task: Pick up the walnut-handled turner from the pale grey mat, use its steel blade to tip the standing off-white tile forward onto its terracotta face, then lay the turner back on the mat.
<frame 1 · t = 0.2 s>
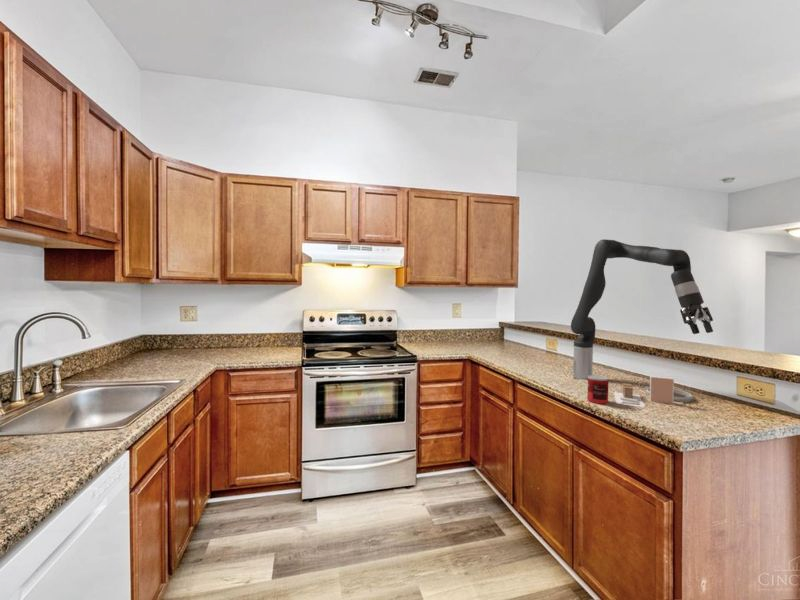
hand: (703, 333, 144), 31 cm above the countertop, tool tilted 20°, fingers open, 8 cm apart
tile: (661, 403, 154), on the countertop
turner: (627, 396, 161), resting on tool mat
frying pan: (659, 394, 168), on the countertop
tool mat: (628, 400, 158), on the countertop
canned food: (597, 403, 155), on the countertop
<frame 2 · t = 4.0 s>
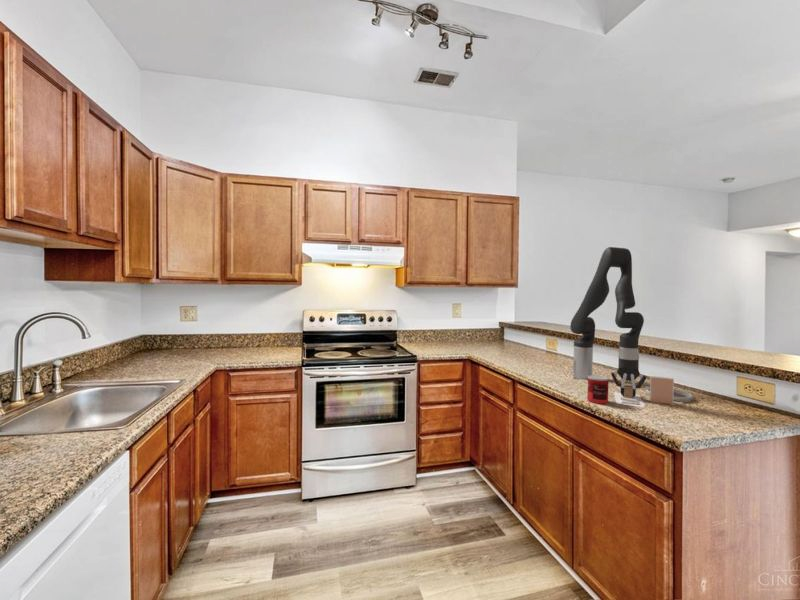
hand: (627, 396, 160), 1 cm above the countertop, tool pointing down, fingers closed on turner, 3 cm apart
turner: (627, 396, 161), point 1 cm above the countertop, touching gripper
everything else where it was.
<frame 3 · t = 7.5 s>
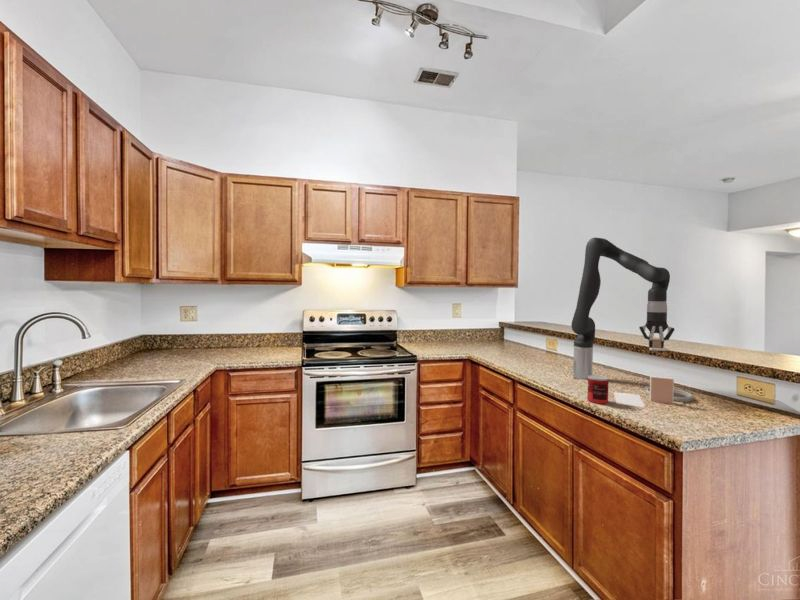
hand: (656, 348, 167), 21 cm above the countertop, tool pointing down, fingers closed on turner, 2 cm apart
turner: (655, 350, 167), point 20 cm above the countertop, tilted 12°, touching gripper
everything else where it was.
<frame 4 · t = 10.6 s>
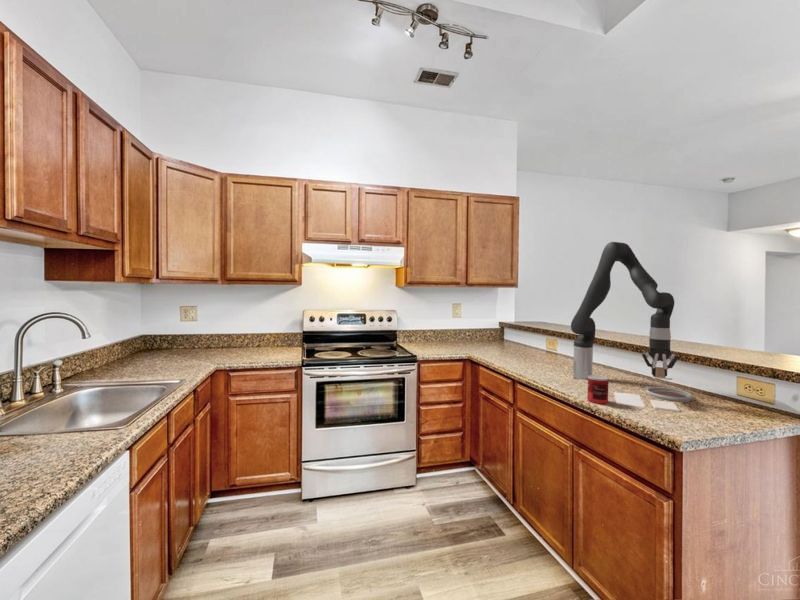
hand: (659, 376, 160), 10 cm above the countertop, tool pointing down, fingers closed on turner, 2 cm apart
tile: (661, 402, 153), on the countertop, tilted 90°
turner: (658, 378, 161), point 9 cm above the countertop, tilted 12°, touching gripper
everything else where it was.
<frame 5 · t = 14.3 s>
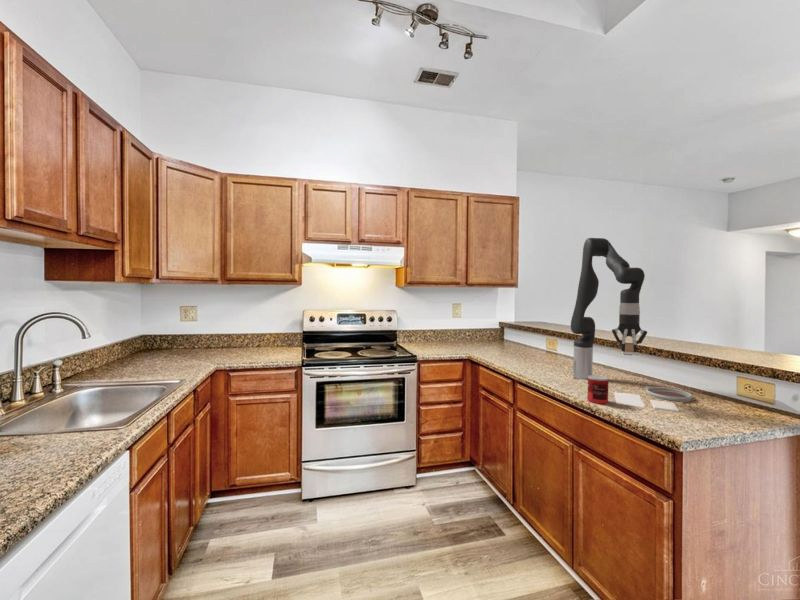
hand: (628, 352, 160), 21 cm above the countertop, tool pointing down, fingers closed on turner, 2 cm apart
turner: (628, 354, 160), point 19 cm above the countertop, tilted 12°, touching gripper
everything else where it was.
when the fingers open (2 cm above the countertop, at t = 17.9 s): turner drops 1 cm, resting on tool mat.
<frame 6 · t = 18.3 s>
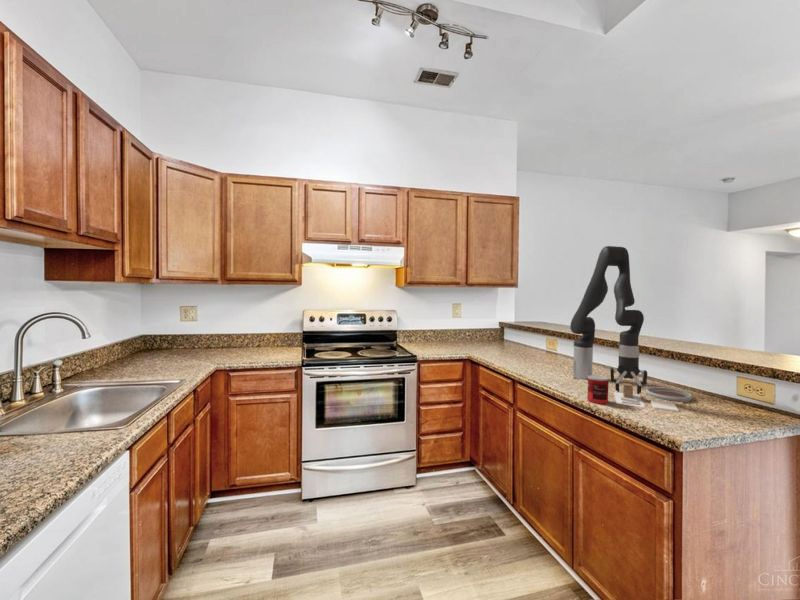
hand: (627, 392, 160), 3 cm above the countertop, tool pointing down, fingers open, 7 cm apart
turner: (627, 396, 161), resting on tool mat
everything else where it was.
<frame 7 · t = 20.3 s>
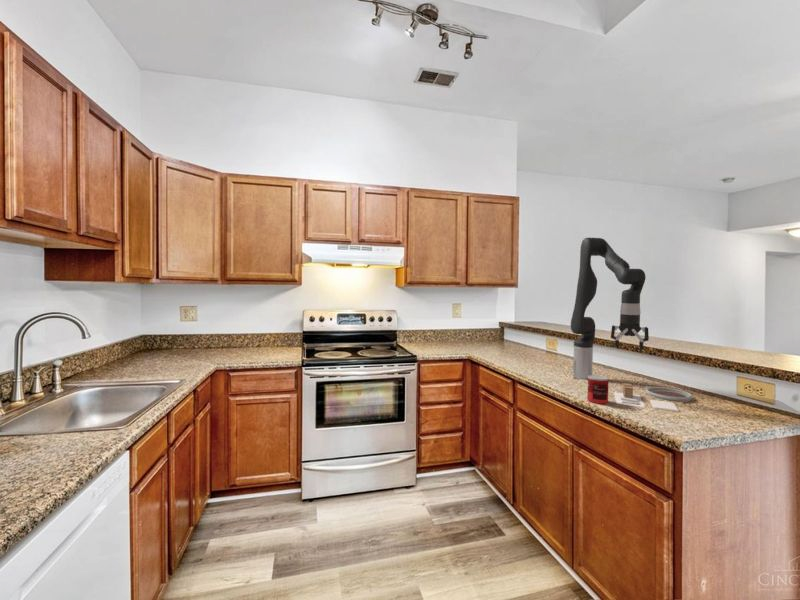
hand: (628, 349, 164), 21 cm above the countertop, tool pointing down, fingers open, 8 cm apart
nothing on the countertop moved.
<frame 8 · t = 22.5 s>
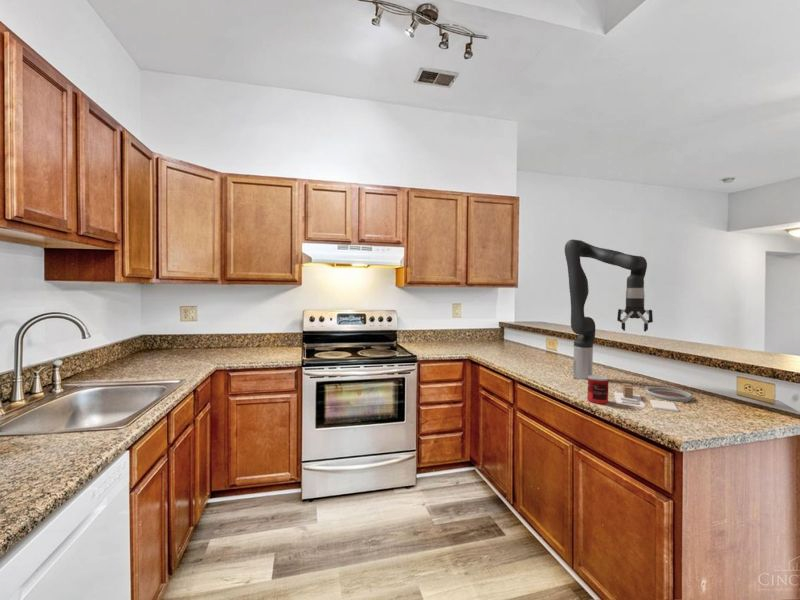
hand: (634, 330, 176), 28 cm above the countertop, tool pointing down, fingers open, 8 cm apart
nothing on the countertop moved.
at the end: tile tilted 90°; turner inside the target area (0.1 cm from its centre), point 0.5 cm above the countertop; the gripper is holding nothing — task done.
